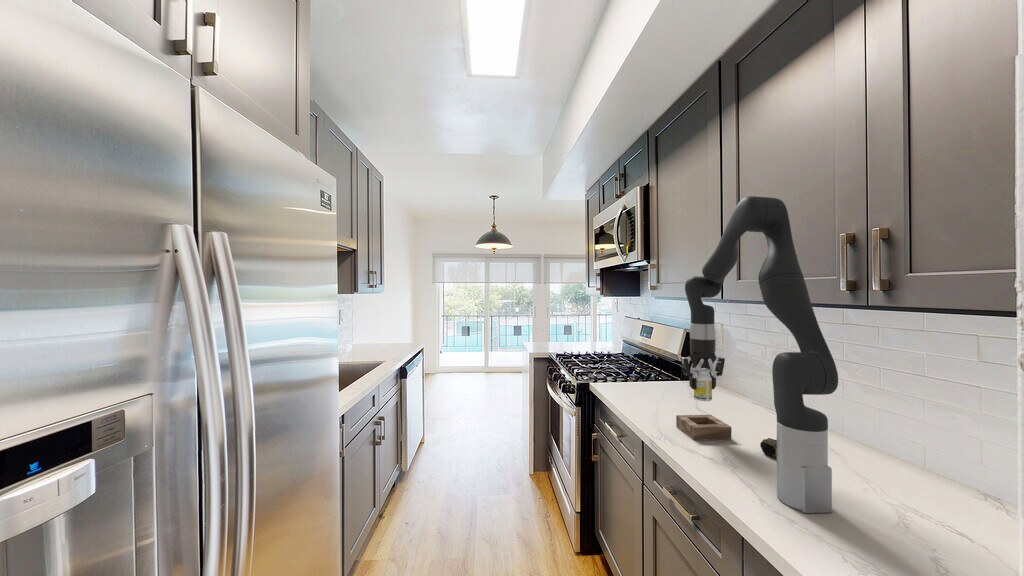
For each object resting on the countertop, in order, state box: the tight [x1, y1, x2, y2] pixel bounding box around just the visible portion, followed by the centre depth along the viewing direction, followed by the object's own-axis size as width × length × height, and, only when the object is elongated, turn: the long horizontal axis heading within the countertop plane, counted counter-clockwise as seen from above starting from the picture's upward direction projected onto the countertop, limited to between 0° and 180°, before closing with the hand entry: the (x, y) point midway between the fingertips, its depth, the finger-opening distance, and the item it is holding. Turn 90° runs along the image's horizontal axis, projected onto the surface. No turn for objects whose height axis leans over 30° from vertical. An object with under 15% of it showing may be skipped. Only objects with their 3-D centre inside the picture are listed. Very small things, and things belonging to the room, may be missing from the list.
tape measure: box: [759, 437, 777, 458], centre depth 114 cm, size 7×7×4 cm
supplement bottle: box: [693, 368, 713, 402], centre depth 131 cm, size 5×5×10 cm
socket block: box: [675, 414, 732, 441], centre depth 131 cm, size 12×12×4 cm
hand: (702, 388), depth 131 cm, fingers closed on supplement bottle, 5 cm apart
